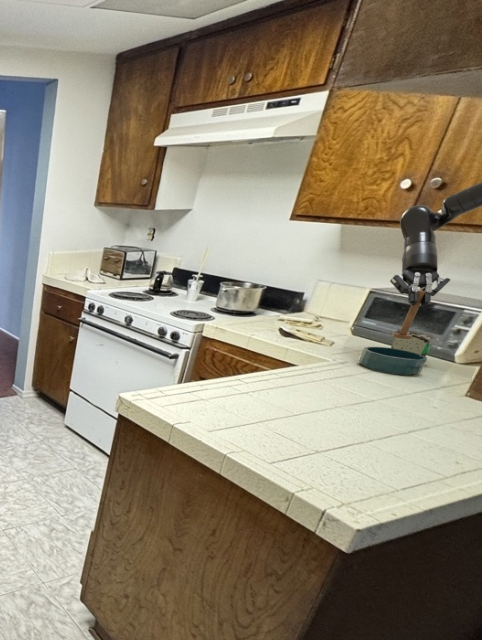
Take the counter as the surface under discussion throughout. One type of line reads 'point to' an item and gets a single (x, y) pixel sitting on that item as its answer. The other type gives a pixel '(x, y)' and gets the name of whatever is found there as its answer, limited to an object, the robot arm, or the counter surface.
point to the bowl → (392, 360)
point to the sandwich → (415, 342)
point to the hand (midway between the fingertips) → (419, 304)
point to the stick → (409, 318)
